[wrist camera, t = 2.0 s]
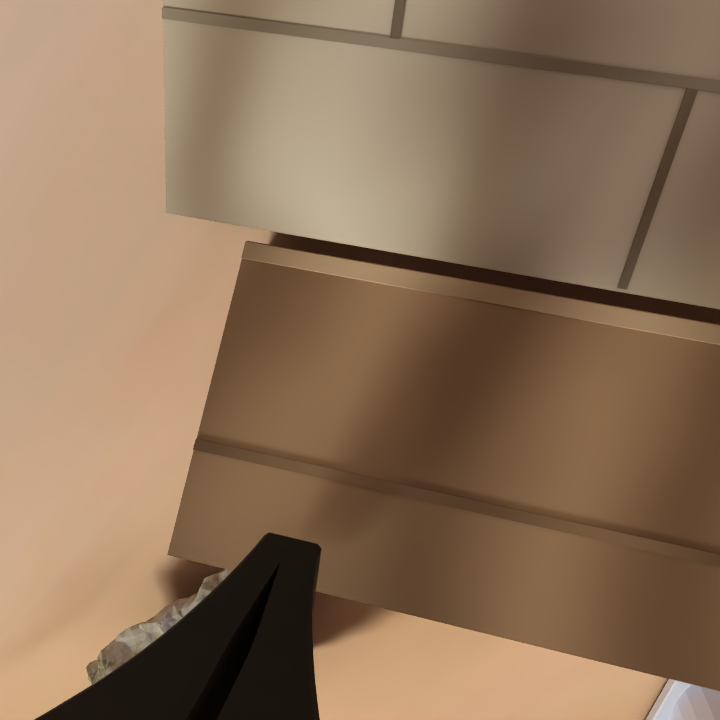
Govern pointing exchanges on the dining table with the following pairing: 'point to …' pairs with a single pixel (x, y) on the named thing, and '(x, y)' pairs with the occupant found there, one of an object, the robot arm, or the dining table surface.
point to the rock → (149, 630)
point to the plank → (470, 456)
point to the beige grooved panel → (459, 131)
